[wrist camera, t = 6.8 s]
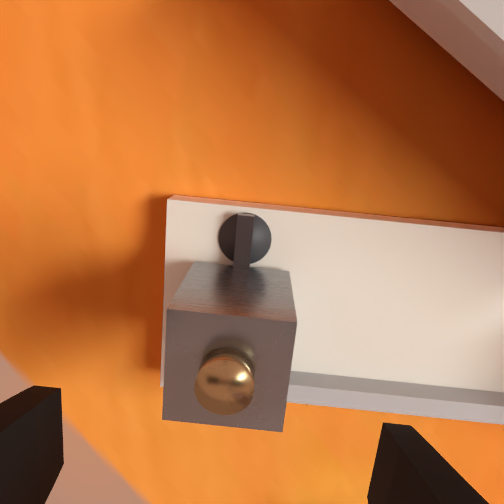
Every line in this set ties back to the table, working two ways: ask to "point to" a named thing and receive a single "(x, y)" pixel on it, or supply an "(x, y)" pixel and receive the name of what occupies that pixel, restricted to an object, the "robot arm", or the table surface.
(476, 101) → the table surface
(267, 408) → the grey slider block
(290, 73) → the table surface
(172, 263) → the board
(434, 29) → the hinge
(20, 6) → the table surface
